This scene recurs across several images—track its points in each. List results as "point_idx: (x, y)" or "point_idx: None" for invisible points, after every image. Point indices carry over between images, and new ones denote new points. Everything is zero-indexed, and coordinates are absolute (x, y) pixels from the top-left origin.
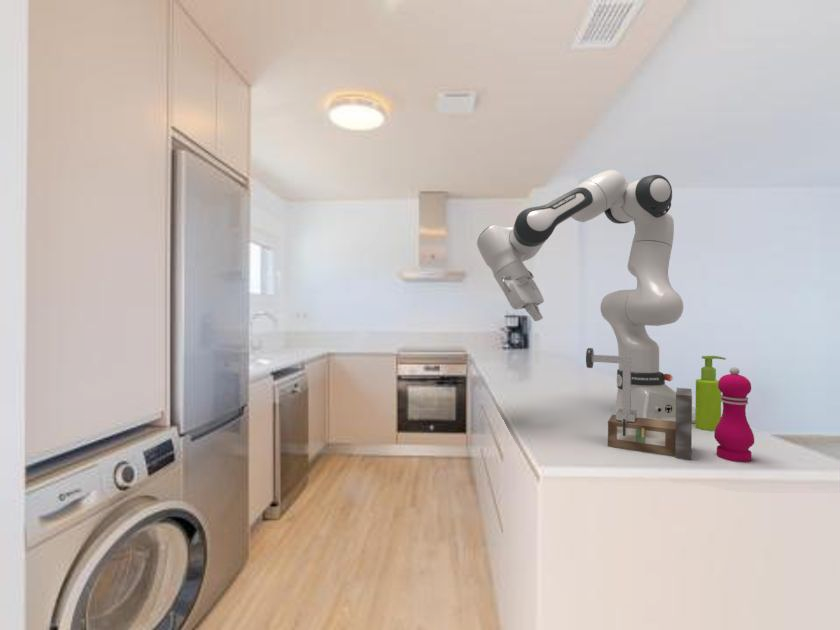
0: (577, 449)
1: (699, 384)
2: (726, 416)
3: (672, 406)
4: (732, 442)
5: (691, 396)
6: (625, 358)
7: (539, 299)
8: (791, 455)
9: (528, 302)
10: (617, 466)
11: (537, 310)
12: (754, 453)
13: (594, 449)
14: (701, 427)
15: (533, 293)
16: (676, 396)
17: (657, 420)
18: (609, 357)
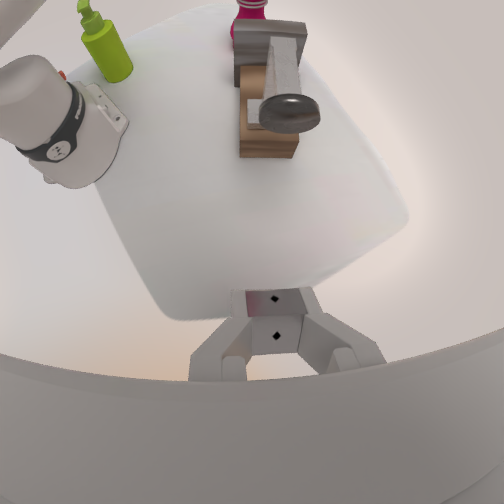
0: (333, 194)
1: (104, 37)
2: (261, 18)
3: (90, 95)
4: None
5: (304, 23)
6: (295, 46)
7: (68, 386)
8: (210, 17)
9: (488, 334)
10: (366, 144)
11: (240, 341)
12: (221, 34)
13: (318, 173)
14: (128, 73)
15: (152, 495)
16: (306, 36)
17: (246, 83)
18: (297, 71)
